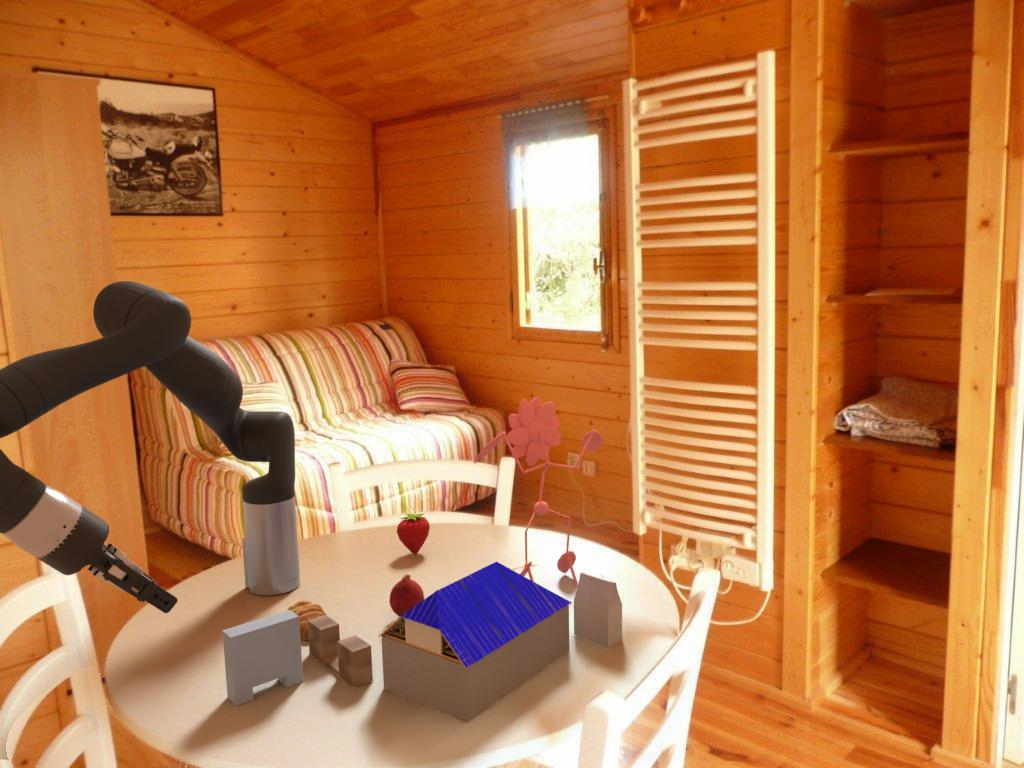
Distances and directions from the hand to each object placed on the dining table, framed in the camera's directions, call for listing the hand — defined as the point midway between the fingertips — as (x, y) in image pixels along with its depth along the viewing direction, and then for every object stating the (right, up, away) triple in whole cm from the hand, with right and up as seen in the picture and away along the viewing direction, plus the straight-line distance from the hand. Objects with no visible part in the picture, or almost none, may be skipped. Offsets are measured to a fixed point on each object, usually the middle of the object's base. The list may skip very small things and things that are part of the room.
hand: (161, 596), depth 109 cm
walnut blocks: (+20, -15, +17) cm, 30 cm away
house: (+41, -15, +16) cm, 46 cm away
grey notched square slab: (+10, -16, +11) cm, 22 cm away
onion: (+28, -12, +33) cm, 45 cm away
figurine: (+50, -9, +49) cm, 70 cm away
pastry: (+12, -13, +31) cm, 35 cm away
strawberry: (+25, -8, +64) cm, 69 cm away
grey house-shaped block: (+59, -13, +25) cm, 66 cm away
